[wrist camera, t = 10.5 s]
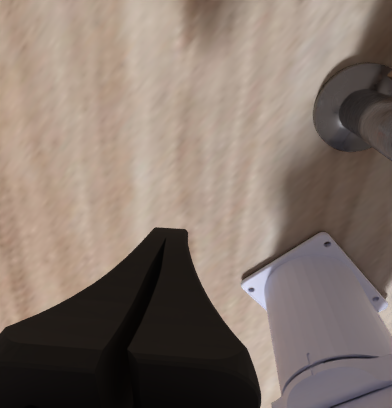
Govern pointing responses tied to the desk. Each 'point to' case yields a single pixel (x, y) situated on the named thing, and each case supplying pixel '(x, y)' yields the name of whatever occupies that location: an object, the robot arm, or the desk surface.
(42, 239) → the desk surface
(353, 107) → the gate post
